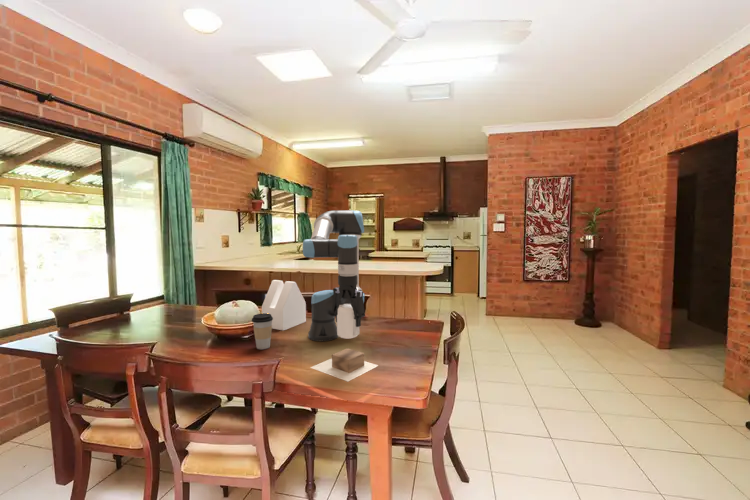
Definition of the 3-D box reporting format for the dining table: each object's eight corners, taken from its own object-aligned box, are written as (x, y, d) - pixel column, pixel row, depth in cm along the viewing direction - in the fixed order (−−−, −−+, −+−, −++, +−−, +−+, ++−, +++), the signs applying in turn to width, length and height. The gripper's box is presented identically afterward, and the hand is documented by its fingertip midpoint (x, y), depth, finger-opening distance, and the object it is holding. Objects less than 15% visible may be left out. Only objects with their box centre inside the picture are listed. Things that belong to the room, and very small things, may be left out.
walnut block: (331, 367, 136) (331, 354, 136) (347, 360, 144) (347, 348, 143) (349, 373, 131) (349, 360, 131) (364, 365, 138) (364, 353, 138)
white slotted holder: (285, 318, 212) (285, 277, 210) (305, 321, 205) (305, 279, 203) (262, 326, 195) (261, 282, 193) (283, 330, 188) (282, 284, 186)
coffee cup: (277, 345, 165) (277, 313, 164) (265, 351, 156) (264, 319, 155) (260, 342, 168) (260, 312, 167) (247, 349, 159) (246, 317, 158)
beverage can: (337, 332, 140) (338, 303, 139) (357, 332, 141) (358, 303, 140) (336, 339, 132) (337, 308, 131) (358, 339, 133) (359, 308, 132)
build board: (310, 370, 136) (310, 367, 136) (341, 356, 150) (341, 354, 150) (348, 384, 124) (348, 381, 124) (378, 368, 138) (378, 365, 138)
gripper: (321, 273, 138) (322, 329, 140) (362, 278, 125) (362, 340, 127) (335, 271, 144) (335, 325, 145) (374, 276, 131) (374, 335, 133)
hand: (348, 332), depth 136 cm, fingers closed on beverage can, 8 cm apart
